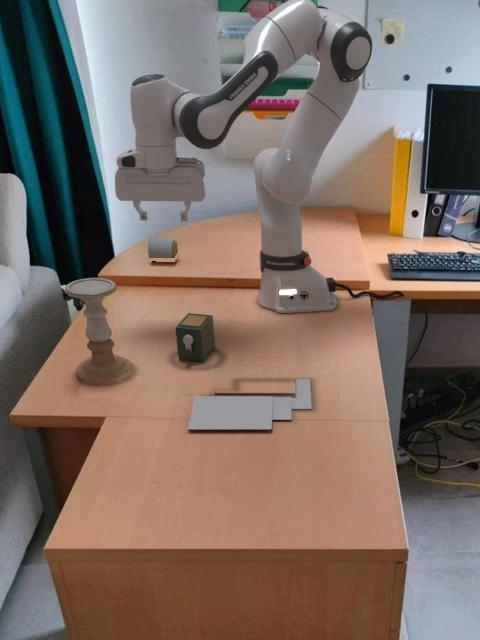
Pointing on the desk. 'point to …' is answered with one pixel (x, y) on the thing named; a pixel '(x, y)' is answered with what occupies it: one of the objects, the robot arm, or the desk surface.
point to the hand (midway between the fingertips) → (164, 220)
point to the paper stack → (248, 408)
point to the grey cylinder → (162, 248)
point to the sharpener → (195, 337)
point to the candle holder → (97, 330)
